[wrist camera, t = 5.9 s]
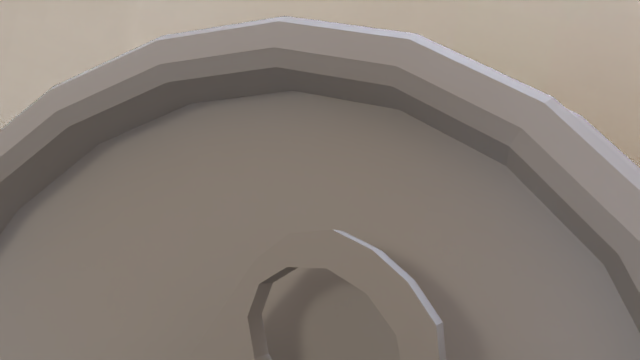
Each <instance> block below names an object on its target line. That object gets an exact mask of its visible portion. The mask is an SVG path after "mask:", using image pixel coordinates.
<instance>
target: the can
mask: <svg viewBox="0 0 640 360" xmlns="http://www.w3.org/2000/svg"><path fill="white" fill-rule="evenodd" d="M0 360H640V168H639V167H638V166H637V165H636V164H635V163H633V162H632V161H631V160H630V159H629V158H628V157H627V156H626V155H625V154H623V153H622V152H621V151H620V150H619V149H618V148H617V147H616V146H615V145H613V144H612V143H611V142H610V141H609V140H608V139H607V138H606V137H605V136H603V135H602V134H601V133H600V132H599V131H598V130H597V129H596V128H595V127H593V126H592V125H591V124H590V123H589V122H588V121H587V120H586V119H585V118H583V117H582V116H581V115H579V114H577V113H575V112H573V111H571V110H569V109H567V108H565V107H564V106H563V105H562V104H561V103H560V102H558V101H557V100H556V99H555V98H554V97H552V96H550V95H548V94H546V93H543V92H541V91H539V90H537V89H535V88H533V87H531V86H528V85H526V84H524V83H522V82H520V81H518V80H516V79H513V78H511V77H509V76H507V75H505V74H503V73H500V72H498V71H496V70H494V69H492V68H490V67H488V66H485V65H483V64H481V63H479V62H477V61H475V60H473V59H470V58H468V57H466V56H464V55H462V54H460V53H457V52H455V51H453V50H451V49H449V48H447V47H445V46H442V45H440V44H438V43H436V42H434V41H432V40H430V39H427V38H425V37H423V36H421V35H419V34H416V33H408V32H401V31H393V30H386V29H378V28H371V27H364V26H356V25H349V24H341V23H334V22H326V21H319V20H312V19H304V18H297V17H289V16H282V17H275V18H269V19H263V20H257V21H250V22H244V23H238V24H232V25H226V26H219V27H213V28H207V29H201V30H194V31H188V32H182V33H176V34H169V35H163V36H161V37H159V38H157V39H154V40H152V41H150V42H148V43H146V44H144V45H141V46H139V47H137V48H135V49H133V50H131V51H129V52H126V53H124V54H122V55H120V56H118V57H116V58H113V59H111V60H109V61H107V62H105V63H103V64H101V65H98V66H96V67H94V68H92V69H90V70H88V71H85V72H83V73H81V74H79V75H77V76H75V77H72V78H70V79H68V80H66V81H64V82H62V83H60V84H57V85H55V86H53V87H52V88H51V89H49V90H48V91H47V92H46V93H45V94H43V95H42V96H41V97H40V98H38V99H37V100H36V101H35V102H34V103H32V104H31V105H30V106H29V107H27V108H26V109H25V110H24V111H23V112H21V113H20V114H19V115H18V116H16V117H15V118H14V119H13V120H12V121H10V122H9V123H8V124H7V125H5V126H4V127H3V128H2V129H1V130H0Z"/></svg>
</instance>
